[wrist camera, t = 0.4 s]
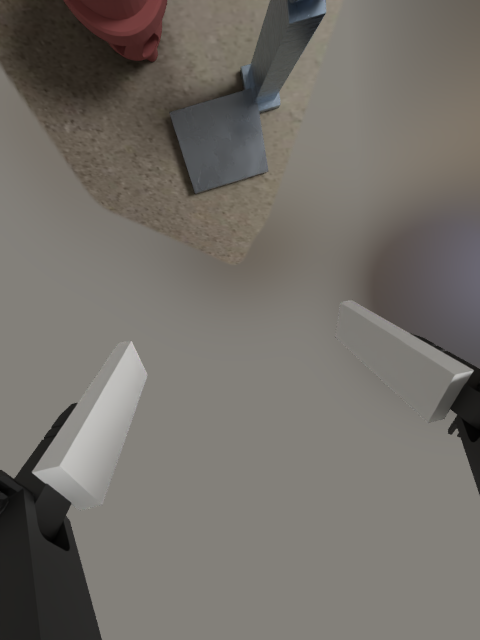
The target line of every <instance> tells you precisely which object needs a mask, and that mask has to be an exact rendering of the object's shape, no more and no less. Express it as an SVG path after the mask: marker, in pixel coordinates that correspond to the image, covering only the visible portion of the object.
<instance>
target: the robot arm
mask: <svg viewBox="0 0 480 640" xmlns="http://www.w3.org/2000/svg"><path fill="white" fill-rule="evenodd" d="M335 338H336V339H338V340H339V341H340V342H341V343H342V344H343V345H344V346H345V347H346V348H347V349H348V350H350V351H351V352H352V353H353V354H354V355H355V356H356V357H357V358H358V359H359V360H360V361H362V363H364V364H365V365H366V366H367V367H368V368H369V369H370V370H371V371H372V372H373V373H375V374H376V375H377V376H378V377H379V378H380V379H381V380H382V381H383V382H384V383H385V384H386V385H387V386H389V387H390V388H391V389H392V390H393V391H394V392H395V393H396V394H397V395H398V396H399V397H400V398H401V399H403V400H404V401H405V402H406V403H407V404H408V405H409V406H410V407H411V408H412V409H414V411H416V412H417V413H418V414H419V415H420V416H421V417H422V418H423V419H424V420H425V421H426V422H428V423H430V422H434V421H437V420H442V419H444V418H445V417H446V415H447V413H448V412H449V410H450V409H451V410H452V411H454V412H455V413H456V414H457V417H456V418H455V420H454V421H453V423H452V424H451V426H450V427H449V429H448V434H452V433H453V432H454V431H455V429H458V431H459V434H458V435H457V436H458V437H461V440H462V443H463V446H464V449H465V452H466V455H467V458H468V461H469V464H470V467H471V470H472V473H473V476H474V479H475V482H476V485H477V488H478V491H479V494H480V369H479V368H477V367H475V366H474V365H472V364H470V363H468V362H466V361H465V360H463V359H461V358H459V357H457V356H455V355H454V354H452V353H450V352H448V351H445V350H444V349H443V348H441V347H439V346H436V345H435V344H434V343H432V342H430V341H428V340H427V339H425V338H422V337H420V336H417V335H413V334H410V333H408V332H406V331H404V330H402V329H401V328H399V327H397V326H396V325H394V324H392V323H390V322H388V321H387V320H385V319H383V318H382V317H380V316H378V315H376V314H375V313H373V312H371V311H369V310H368V309H366V308H364V307H362V306H361V305H358V304H357V303H355V302H354V301H351V300H350V301H345V302H341V303H340V308H339V315H338V322H337V330H336V337H335ZM146 378H147V373H146V371H145V369H144V367H143V365H142V362H141V360H140V358H139V356H138V354H137V352H136V350H135V347H134V345H133V343H132V341H127V342H122V343H118V344H117V345H116V347H115V348H114V350H113V351H112V353H111V354H110V356H109V357H108V359H107V360H106V362H105V363H104V365H103V366H102V368H101V369H100V371H99V373H98V374H97V376H96V377H95V378H94V380H93V381H92V383H91V384H90V386H89V387H88V389H87V390H86V392H85V393H84V395H83V396H82V398H81V399H80V401H79V402H78V403H74V404H71V405H70V406H69V407H68V408H67V409H66V410H65V411H64V412H63V413H62V414H61V415H60V416H59V417H58V419H57V420H56V422H55V423H54V424H53V426H52V429H50V430H49V431H48V433H47V434H46V435H45V437H44V440H42V441H41V442H40V444H39V445H38V447H37V448H36V449H35V451H34V452H33V453H32V455H31V456H30V458H29V459H28V460H27V462H26V463H25V465H24V466H23V467H22V469H21V470H20V472H19V473H18V475H17V476H16V477H15V478H14V479H13V478H12V477H11V476H9V475H8V474H6V473H5V472H3V471H2V470H0V640H102V639H101V635H100V631H99V627H98V623H97V620H96V616H95V612H94V609H93V605H92V601H91V598H90V594H89V590H88V586H87V583H86V579H85V575H84V572H83V568H82V564H81V560H80V557H79V553H78V549H77V546H76V542H75V538H74V535H73V531H72V527H71V524H70V521H69V519H68V518H67V516H66V514H67V512H68V510H69V507H70V505H71V504H72V505H73V506H75V507H76V508H77V509H78V510H84V509H88V508H92V507H96V506H100V505H102V504H103V501H104V498H105V495H106V493H107V490H108V487H109V484H110V481H111V478H112V475H113V472H114V470H115V467H116V464H117V461H118V458H119V455H120V452H121V449H122V447H123V444H124V441H125V438H126V435H127V432H128V429H129V427H130V424H131V421H132V418H133V415H134V412H135V409H136V407H137V404H138V401H139V398H140V395H141V392H142V389H143V386H144V384H145V381H146Z"/></svg>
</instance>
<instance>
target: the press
mask: <svg viewBox="0 0 480 640" xmlns="http://www.w3.org/2000/svg"><path fill="white" fill-rule="evenodd" d="M325 14H326V0H301V1H298V2H294V3H291V2H290V1H289V0H270V3H269V6H268V9H267V13H266V16H265V19H264V23H263V26H262V29H261V32H260V36H259V39H258V42H257V45H256V49H255V52H254V55H253V59H252V62H251V64H249V65H245V66H242V67H241V70H240V72H241V78H242V83H243V89H244V90H243V91H240V92H236V93H233V94H230V95H226V96H223V97H220V98H216V99H213V100H209V101H206V102H203V103H199V104H196V105H192V106H189V107H186V108H182V109H179V110H176V111H172V112H169V113H170V116H171V119H172V122H173V126H174V129H175V132H176V135H177V138H178V141H179V144H180V147H181V151H182V154H183V157H184V160H185V163H186V166H187V169H188V172H189V176H190V179H191V182H192V185H193V188H194V191H195V194H198V193H201V192H204V191H208V190H211V189H214V188H218V187H221V186H224V185H227V184H231V183H234V182H237V181H241V180H244V179H247V178H250V177H254V176H257V175H260V174H264V173H266V172H268V166H267V160H266V153H265V147H264V141H263V134H262V128H261V121H260V115H259V113H262V112H266V111H269V110H272V109H276V108H279V106H280V97H279V91H280V89H281V88H282V86H283V84H284V83H285V81H286V79H287V78H288V76H289V74H290V73H291V71H292V69H293V68H294V66H295V64H296V62H297V61H298V59H299V57H300V56H301V54H302V52H303V51H304V49H305V47H306V46H307V44H308V42H309V41H310V39H311V37H312V36H313V34H314V32H315V31H316V29H317V27H318V26H319V24H320V22H321V21H322V19H323V17H324V15H325Z"/></svg>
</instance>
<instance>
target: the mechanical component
mask: <svg viewBox="0 0 480 640" xmlns="http://www.w3.org/2000/svg"><path fill="white" fill-rule="evenodd" d="M63 1H64V2H65V3H66V5H67V6H68V8H69V9H70V10H71V12H72V13H73V14H74V15H75V16H76V18H77V19H78V20H79V21H80V22H81V23H82V24H83V25H84V26H85V27H86V28H87V29H89V30H90V31H91V32H92V33H94V34H95V35H96V36H98V37H100V38H101V39H103V40H105V41H107V42H108V44H109V45H110V46H111V47H112V48H113V49H114V50H115V51H116V52H117V53H119V54H120V55H121V56H123V57H125V58H127V59H130V60H134V61H141V60H145V59H147V60H149V61H151V62H153V61H155V60H156V59H157V56H158V52H157V47H158V45H159V42H160V38H161V33H162V18H163V16H164V13H165V9H166V5H167V0H63Z"/></svg>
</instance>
